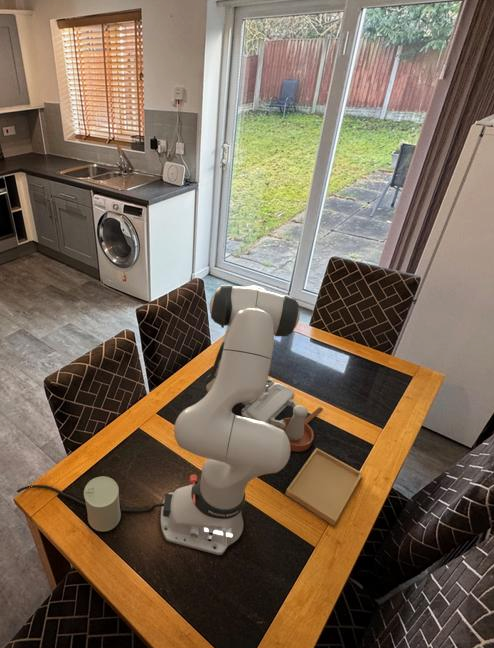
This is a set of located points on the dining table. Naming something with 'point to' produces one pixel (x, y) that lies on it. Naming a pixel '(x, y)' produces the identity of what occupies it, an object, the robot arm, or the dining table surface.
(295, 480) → the tray
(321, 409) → the pan handle
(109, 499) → the can
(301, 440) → the pan
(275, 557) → the dining table surface
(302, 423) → the salt shaker
